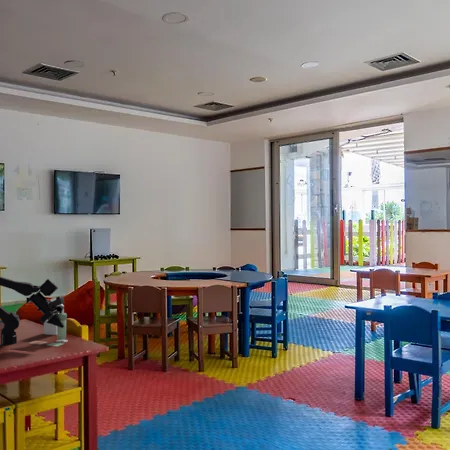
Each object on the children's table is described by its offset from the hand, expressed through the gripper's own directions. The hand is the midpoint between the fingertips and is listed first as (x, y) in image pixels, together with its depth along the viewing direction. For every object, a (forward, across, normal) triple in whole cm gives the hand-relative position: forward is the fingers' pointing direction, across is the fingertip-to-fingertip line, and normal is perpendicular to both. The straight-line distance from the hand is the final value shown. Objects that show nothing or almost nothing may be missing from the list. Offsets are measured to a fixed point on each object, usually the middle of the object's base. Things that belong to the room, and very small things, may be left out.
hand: (64, 326), depth 236 cm
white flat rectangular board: (+2, -2, +10) cm, 10 cm away
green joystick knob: (+3, 0, +5) cm, 6 cm away
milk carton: (-2, +17, +14) cm, 22 cm away
